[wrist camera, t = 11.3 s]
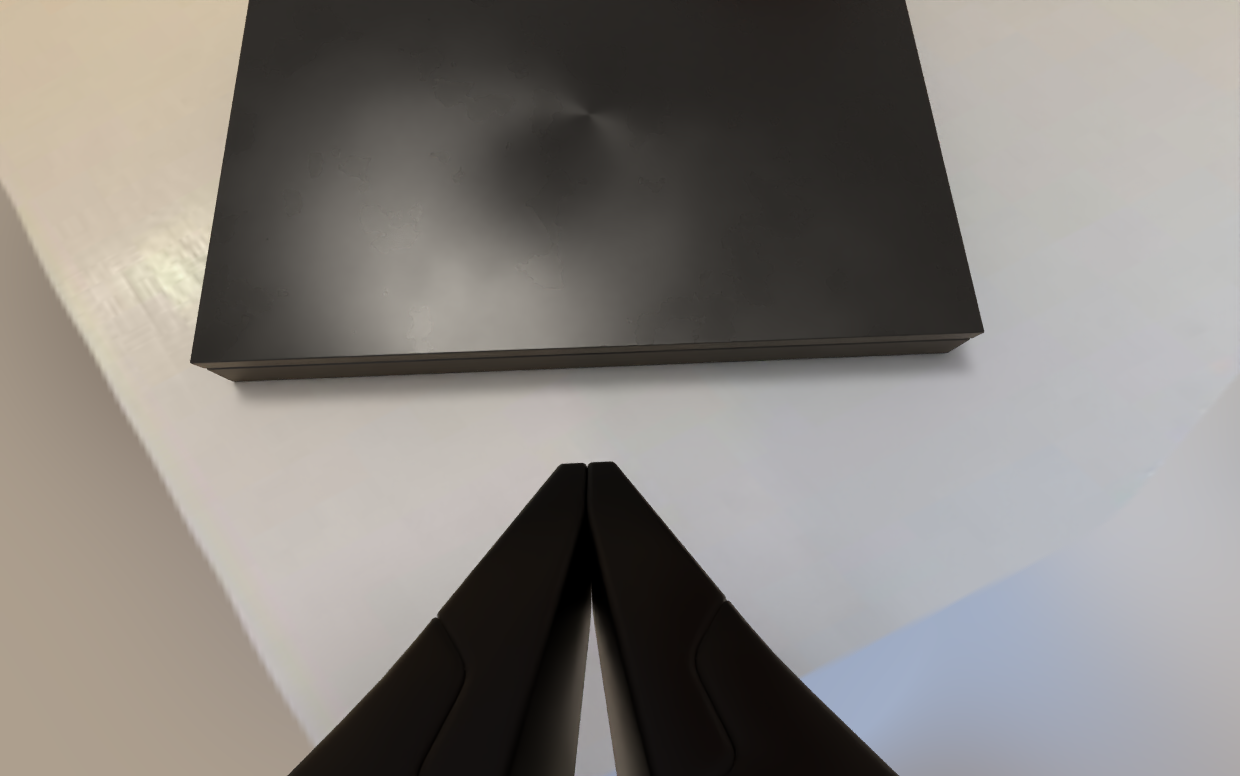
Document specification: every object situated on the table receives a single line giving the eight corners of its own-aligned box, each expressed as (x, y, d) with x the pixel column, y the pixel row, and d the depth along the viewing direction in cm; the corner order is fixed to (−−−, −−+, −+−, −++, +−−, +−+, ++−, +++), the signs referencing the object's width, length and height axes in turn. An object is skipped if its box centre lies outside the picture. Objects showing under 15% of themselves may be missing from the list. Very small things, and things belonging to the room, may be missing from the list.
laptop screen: (270, -49, 25) (259, -67, 24) (880, -55, 26) (888, -72, 26) (205, 369, 20) (189, 363, 19) (970, 339, 21) (984, 332, 20)
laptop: (301, 7, 28) (284, -24, 26) (855, 0, 29) (869, -31, 27) (231, 382, 21) (203, 368, 20) (948, 353, 23) (972, 338, 21)
